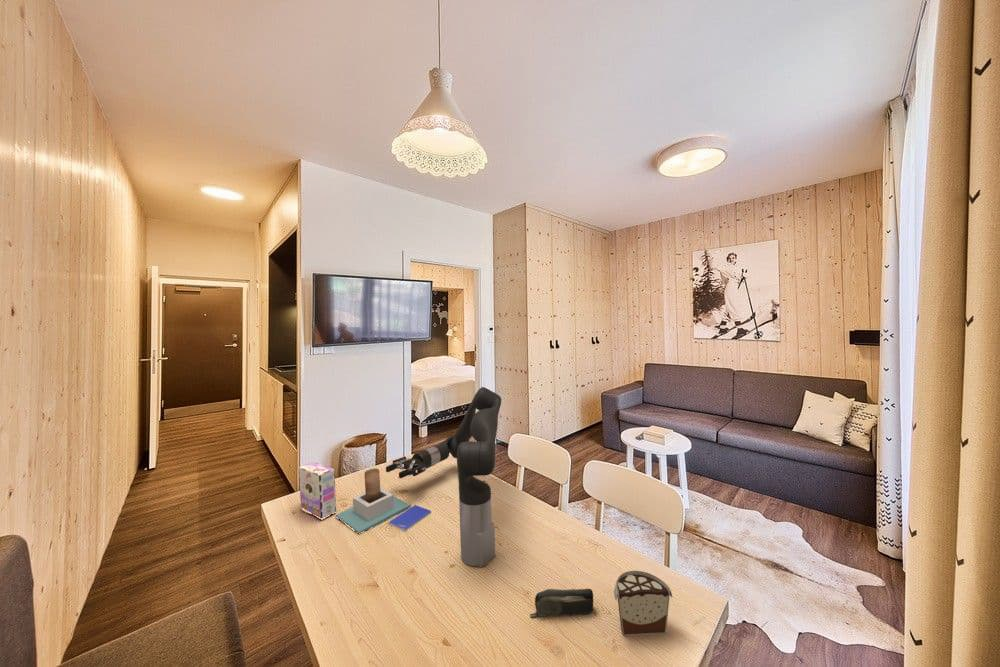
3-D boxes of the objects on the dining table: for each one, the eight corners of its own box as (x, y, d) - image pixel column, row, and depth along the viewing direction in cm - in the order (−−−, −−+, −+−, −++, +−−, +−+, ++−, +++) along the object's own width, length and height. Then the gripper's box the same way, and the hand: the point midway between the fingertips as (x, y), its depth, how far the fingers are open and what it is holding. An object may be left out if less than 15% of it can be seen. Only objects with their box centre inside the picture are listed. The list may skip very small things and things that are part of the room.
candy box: (337, 513, 122) (335, 468, 122) (321, 521, 117) (319, 475, 117) (315, 503, 130) (313, 460, 129) (300, 510, 125) (298, 466, 124)
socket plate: (410, 507, 125) (410, 491, 125) (359, 534, 109) (358, 516, 109) (386, 494, 135) (385, 479, 135) (335, 517, 119) (334, 501, 119)
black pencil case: (590, 584, 81) (528, 589, 80) (595, 595, 78) (531, 599, 77) (590, 605, 81) (528, 609, 80) (595, 616, 78) (531, 621, 77)
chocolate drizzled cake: (658, 609, 79) (658, 567, 79) (672, 633, 73) (672, 588, 73) (606, 611, 79) (605, 570, 78) (616, 636, 72) (615, 591, 72)
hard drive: (404, 529, 110) (431, 510, 121) (387, 521, 115) (414, 504, 125) (404, 533, 110) (431, 514, 121) (387, 526, 115) (414, 508, 125)
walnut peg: (384, 508, 123) (382, 471, 122) (371, 515, 119) (369, 476, 118) (376, 504, 126) (374, 467, 125) (363, 510, 122) (361, 472, 121)
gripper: (415, 445, 145) (381, 458, 133) (437, 453, 136) (403, 467, 124) (416, 463, 145) (382, 477, 133) (438, 471, 137) (404, 487, 124)
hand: (392, 472), depth 128 cm, fingers open, 8 cm apart
